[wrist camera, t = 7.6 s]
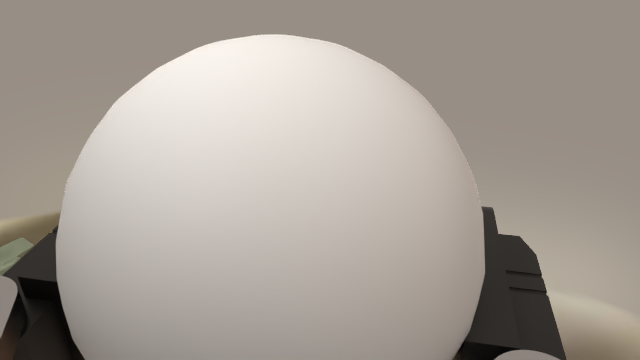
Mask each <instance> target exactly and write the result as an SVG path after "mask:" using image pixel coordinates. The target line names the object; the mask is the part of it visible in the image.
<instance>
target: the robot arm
mask: <svg viewBox="0 0 640 360" xmlns="http://www.w3.org/2000/svg"><path fill="white" fill-rule="evenodd" d="M481 208H482V212H483V224H484V252H485V276H484V280H483V284H482V289H481V293H480V297H479V302H478V305H477V308H476V312H475V315H474V318H473V322H472V325H471V328H470V332H469V333H468V335H467V336H466V338H465V340H464V342H463V343H462V345H461V347H460V349H459V350H458V352H457V354H456V355H455V357H454V359H453V360H567V359H566V356H565V353H564V349H563V346H562V342H561V339H560V335H559V332H558V328H557V325H556V322H555V318H554V315H553V311H552V308H551V304H550V301H549V297H548V296H547V295H546V292H547V291H546V287H545V284H544V280H543V278H542V274H541V270H540V267H539V263H538V260H537V256H536V254H535V253H534V252H533V251H532V250H531V249H530V248H529V246H528V245H527V244H526V243H525V242H524V241H523V240H522V239H521V237H520V236H512V235H502V234H498V231H497V226H496V220H495V215H494V211H493V208H491V207H481ZM58 226H59V225H58ZM58 226H57V227H56V228H54V229H53V233H49V234H48V235H47V236H46V237H44V238H43V239H42V240H41V241H40V242H39V243H38V244H37V245H35V246H34V247H33V248H32V249H31V250H30V251H29V252H28V253H27V254H25V255H24V256H23V257H22V258H21V259H20V260H19V261H18V262H16V263H15V264H14V265H13V266H12V267H11V268H10V269H9V270H7V271H6V272H5V273H4V274H3V275H2V276H0V360H85V359H84V357H83V355H82V354H81V352H80V351H79V349H78V347H77V346H76V344H75V342H74V341H73V339H72V336H71V333H70V329H69V326H68V323H67V320H66V316H65V313H64V310H63V307H62V302H61V297H60V292H59V288H58V283H57V276H56V238H57V232H58Z"/></svg>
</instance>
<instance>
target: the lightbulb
mask: <svg viewBox="0 0 640 360" xmlns="http://www.w3.org/2000/svg"><path fill="white" fill-rule="evenodd" d="M56 276H57V283H58V288H59V292H60V297H61V302H62V307H63V310H64V313H65V316H66V320H67V323H68V326H69V329H70V333H71V336H72V339H73V341H74V342H75V344H76V346H77V347H78V349H79V351H80V352H81V354H82V355H83V357H84V359H85V360H453V359H454V357H455V355H456V354H457V352H458V350H459V349H460V347H461V345H462V343H463V342H464V340H465V338H466V336H467V335H468V333H469V332H470V328H471V325H472V322H473V318H474V315H475V312H476V308H477V305H478V302H479V297H480V293H481V289H482V284H483V280H484V276H485V252H484V224H483V212H482V208H481V203H480V199H479V194H478V190H477V185H476V181H475V179H474V176H473V174H472V172H471V169H470V167H469V165H468V162H467V160H466V158H465V157H464V155H463V153H462V151H461V149H460V147H459V145H458V143H457V141H456V139H455V137H454V135H453V134H452V132H451V130H450V129H449V128H448V126H447V125H446V124H445V123H444V121H443V120H442V119H441V117H440V116H439V115H438V114H437V112H436V111H435V110H434V108H433V107H432V106H431V104H430V103H429V102H428V101H427V100H426V99H425V98H424V97H423V95H422V94H421V93H420V92H418V91H417V90H416V89H414V88H413V87H412V86H410V85H409V84H408V83H407V82H405V81H404V80H403V79H401V78H400V77H399V76H397V75H396V74H395V73H393V72H392V71H391V70H389V69H388V68H386V67H385V66H383V65H381V64H380V63H378V62H376V61H374V60H372V59H370V58H367V57H366V56H363V55H361V54H359V53H357V52H355V51H353V50H351V49H349V48H347V47H344V46H342V45H338V44H335V43H332V42H327V41H322V40H317V39H311V38H304V37H298V36H291V35H255V36H248V37H243V38H235V39H229V40H224V41H218V42H215V43H211V44H207V45H204V46H202V47H199V48H196V49H194V50H192V51H190V52H188V53H187V54H184V55H182V56H180V57H178V58H176V59H174V60H172V61H170V62H168V63H166V64H165V65H163V66H161V67H159V68H157V69H155V70H154V71H153V72H152V73H151V74H149V75H148V76H146V77H145V78H144V79H143V80H141V81H140V82H139V83H137V84H136V85H135V86H134V87H132V88H131V89H130V90H129V91H127V92H126V93H125V94H124V95H123V96H121V97H120V98H119V99H118V100H117V101H116V102H115V103H114V104H113V105H112V107H111V108H110V109H109V111H108V112H107V114H106V115H105V116H104V118H103V119H102V120H101V122H100V123H99V124H98V126H97V127H96V128H95V130H94V131H93V132H92V134H91V136H90V137H89V139H88V141H87V143H86V144H85V146H84V147H83V150H82V152H81V153H80V156H79V158H78V160H77V162H76V164H75V166H74V168H73V170H72V172H71V174H70V176H69V178H68V180H67V182H66V187H65V193H64V198H63V204H62V209H61V214H60V220H59V226H58V232H57V238H56Z"/></svg>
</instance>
